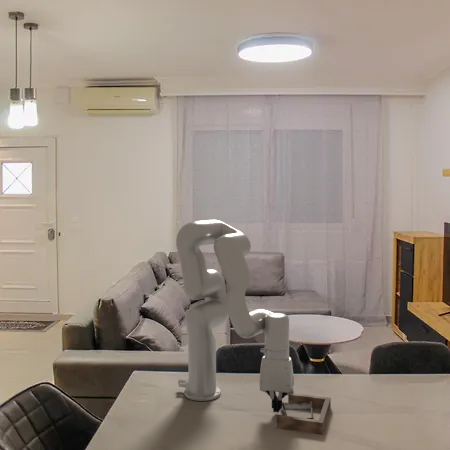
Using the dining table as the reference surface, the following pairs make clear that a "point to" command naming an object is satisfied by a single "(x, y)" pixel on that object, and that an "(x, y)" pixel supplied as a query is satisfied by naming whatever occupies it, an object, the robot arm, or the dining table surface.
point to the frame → (304, 423)
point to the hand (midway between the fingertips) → (276, 410)
